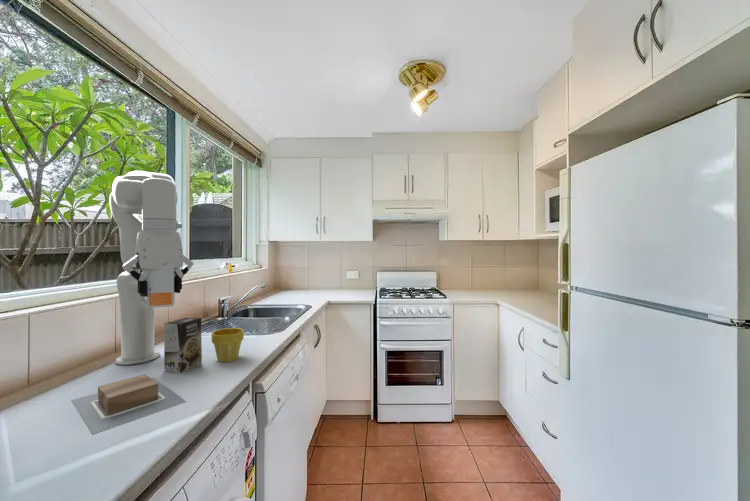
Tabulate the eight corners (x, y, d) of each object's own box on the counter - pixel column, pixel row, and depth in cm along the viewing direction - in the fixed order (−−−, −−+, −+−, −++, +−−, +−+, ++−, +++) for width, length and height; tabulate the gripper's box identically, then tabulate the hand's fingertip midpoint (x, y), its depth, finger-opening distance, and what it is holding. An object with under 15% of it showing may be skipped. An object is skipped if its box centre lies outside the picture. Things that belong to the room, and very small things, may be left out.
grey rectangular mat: (71, 404, 82) (71, 399, 82) (153, 380, 96) (153, 376, 96) (92, 439, 67) (92, 433, 67) (186, 405, 81) (186, 400, 81)
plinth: (98, 402, 81) (97, 386, 80) (145, 388, 88) (145, 374, 88) (108, 415, 74) (107, 398, 74) (158, 399, 82) (158, 383, 82)
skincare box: (146, 308, 82) (145, 261, 82) (148, 305, 86) (147, 260, 85) (174, 306, 85) (173, 260, 84) (175, 303, 88) (174, 260, 88)
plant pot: (249, 354, 118) (249, 328, 118) (232, 364, 108) (232, 335, 108) (224, 353, 120) (223, 327, 120) (205, 363, 110) (204, 334, 110)
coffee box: (181, 376, 99) (180, 324, 99) (163, 374, 100) (162, 323, 100) (202, 365, 108) (202, 317, 108) (186, 364, 109) (185, 316, 109)
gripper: (188, 228, 94) (189, 289, 94) (114, 225, 80) (115, 297, 80) (200, 227, 89) (201, 291, 90) (123, 224, 76) (124, 300, 76)
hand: (160, 293), depth 85 cm, fingers closed on skincare box, 7 cm apart
